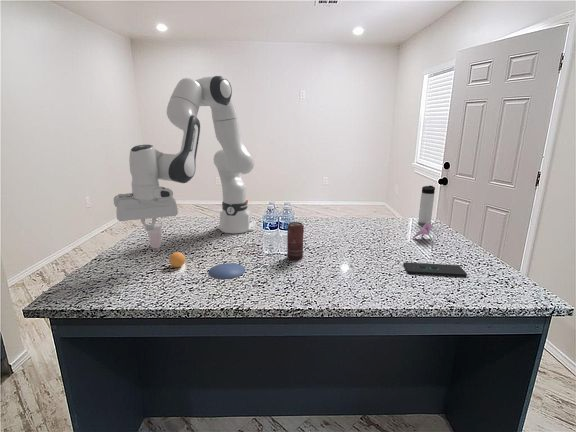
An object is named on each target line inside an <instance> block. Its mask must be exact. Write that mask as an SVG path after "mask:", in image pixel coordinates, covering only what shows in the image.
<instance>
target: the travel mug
mask: <svg viewBox="0 0 576 432" xmlns="http://www.w3.org/2000/svg"><path fill="white" fill-rule="evenodd" d="M435 190H436V187H435V186H433V185H425V186H424V185H423V186H422V187H421V195H420V203H419V211H418V212H419V213H418V220H417V223H418V224H419V225H423V226H424V225H425V224H426V223H427V222H429V223H430V225H431V224H432V215H433V209H434V200H435Z"/></svg>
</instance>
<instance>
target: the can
mask: <svg viewBox="0 0 576 432" xmlns="http://www.w3.org/2000/svg"><path fill="white" fill-rule="evenodd" d="M304 227H305V226H304V224H303V223H302V222H298V221H297V222H296V221H294V222H293V221H292V222H289V223H288V224H287V233H286V234H287V239H286V240H287V241H286V242H287V244H286V246H287V249H286V251H287V254H286V255H287V256H286V257H287V259H288V260H290V261H300V260H302V259H303V257H304V232H305V229H304Z"/></svg>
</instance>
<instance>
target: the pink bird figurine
mask: <svg viewBox="0 0 576 432" xmlns="http://www.w3.org/2000/svg"><path fill="white" fill-rule="evenodd" d="M435 224H437V221H435V222H433V223H431V224H430V223H429V222H427V223H426V224H425V225H423V227H422V228H421V229H420V230H418V231H417V232H416V234H414V236H413V237H412V240H413V239H416V237H418V236H421V237H422V238H423V237H424V236H425V235H426V236H427V235H428V236H429V237H430V240H431V242H432V243H434V241H433V239H432V236H431V235H430V231H431V229H433V228H434V225H435Z"/></svg>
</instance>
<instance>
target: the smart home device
mask: <svg viewBox="0 0 576 432" xmlns="http://www.w3.org/2000/svg"><path fill="white" fill-rule="evenodd" d="M403 268H404V270H405V271H406V273H407V274H408V275H423V276H435V277H436V276H438V277H456V278H467V277H468V276H467V275H468V273H467V272H466V271H465V270H464V269H463V268H462V267H461V266H460V265H458V264H445V263H443V264H442V263H427V262H426V263H425V262H410V261H409V262H407V261H406V262H405V261H404V262H403Z"/></svg>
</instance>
